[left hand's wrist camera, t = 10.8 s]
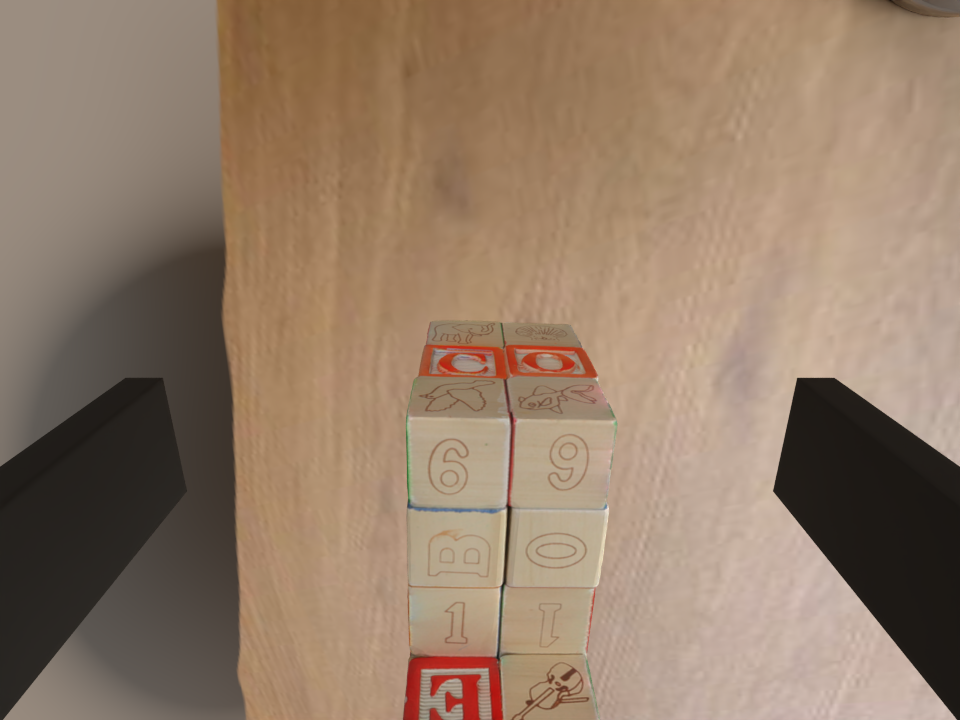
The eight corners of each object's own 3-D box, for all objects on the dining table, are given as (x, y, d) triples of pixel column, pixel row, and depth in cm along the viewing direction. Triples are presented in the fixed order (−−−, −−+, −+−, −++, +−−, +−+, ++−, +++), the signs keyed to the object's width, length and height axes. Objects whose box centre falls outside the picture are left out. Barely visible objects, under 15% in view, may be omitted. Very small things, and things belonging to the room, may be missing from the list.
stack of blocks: (425, 315, 25) (393, 470, 14) (571, 320, 25) (659, 475, 14) (423, 684, 33) (401, 980, 21) (535, 685, 33) (572, 979, 22)
